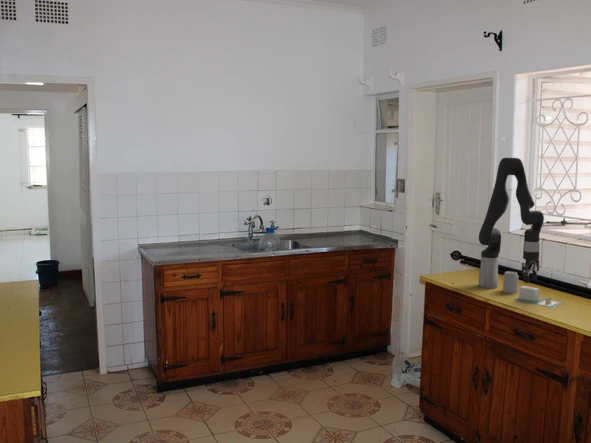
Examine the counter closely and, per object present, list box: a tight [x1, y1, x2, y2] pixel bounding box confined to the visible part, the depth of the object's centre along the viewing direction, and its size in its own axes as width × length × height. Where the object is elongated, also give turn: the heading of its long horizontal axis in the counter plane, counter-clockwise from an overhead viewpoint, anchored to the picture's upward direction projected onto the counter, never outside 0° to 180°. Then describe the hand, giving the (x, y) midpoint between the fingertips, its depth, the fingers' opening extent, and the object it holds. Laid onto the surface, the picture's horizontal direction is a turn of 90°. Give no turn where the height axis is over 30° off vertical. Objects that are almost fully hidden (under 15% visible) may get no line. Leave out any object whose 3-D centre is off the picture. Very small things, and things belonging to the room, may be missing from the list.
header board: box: [513, 295, 564, 309], centre depth 280 cm, size 20×12×4 cm, turn 42°
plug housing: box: [518, 285, 540, 302], centre depth 283 cm, size 8×4×6 cm, turn 42°
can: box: [502, 270, 519, 294], centre depth 299 cm, size 8×8×12 cm
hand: (530, 281), depth 282 cm, fingers open, 8 cm apart
